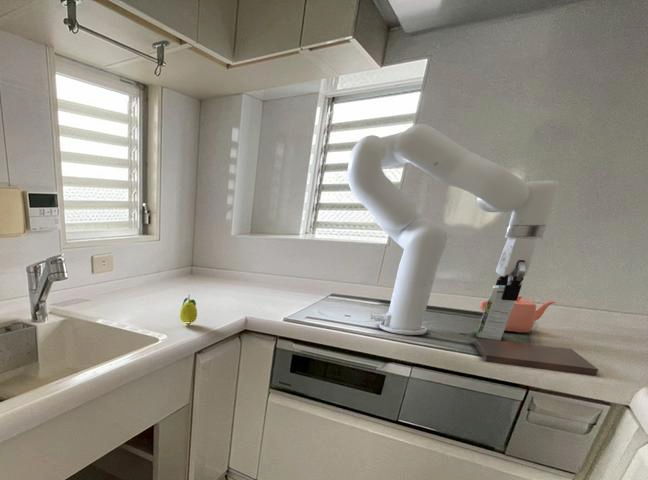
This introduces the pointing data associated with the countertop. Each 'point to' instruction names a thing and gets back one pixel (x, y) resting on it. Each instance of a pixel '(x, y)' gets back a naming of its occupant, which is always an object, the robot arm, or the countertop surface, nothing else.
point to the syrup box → (495, 315)
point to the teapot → (522, 314)
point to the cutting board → (534, 356)
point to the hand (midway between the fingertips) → (504, 296)
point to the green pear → (188, 311)
